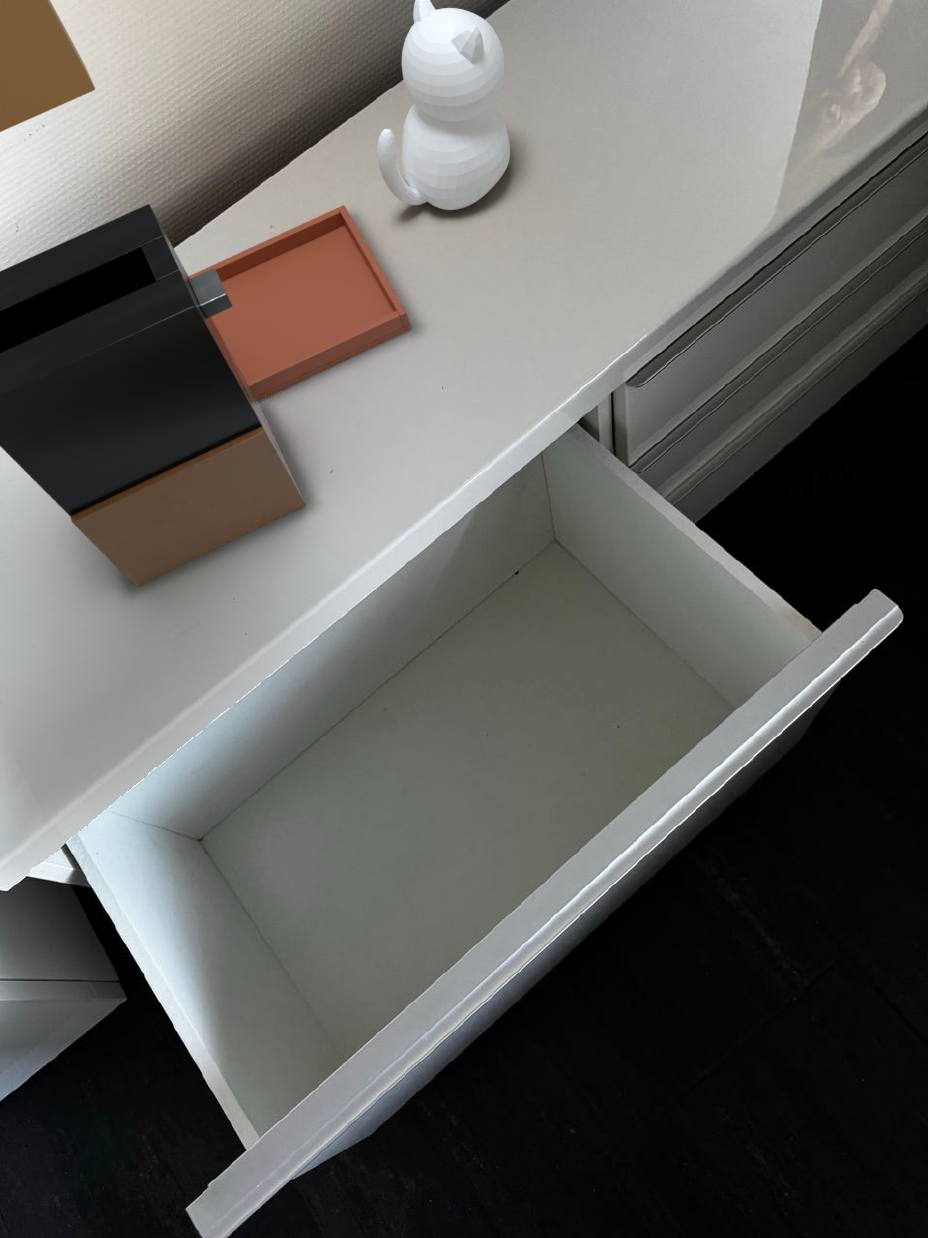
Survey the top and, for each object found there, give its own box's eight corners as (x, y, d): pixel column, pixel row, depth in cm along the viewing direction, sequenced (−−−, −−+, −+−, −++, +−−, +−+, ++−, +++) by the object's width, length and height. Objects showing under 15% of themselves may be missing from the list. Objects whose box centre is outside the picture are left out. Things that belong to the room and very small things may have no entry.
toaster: (136, 587, 77) (-33, 418, 57) (99, 485, 81) (-70, 295, 61) (328, 495, 78) (228, 298, 58) (282, 400, 82) (173, 184, 62)
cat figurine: (542, 168, 88) (528, 3, 74) (433, 255, 86) (398, 102, 72) (472, 119, 91) (447, -47, 78) (366, 201, 89) (320, 45, 75)
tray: (239, 410, 82) (230, 394, 80) (188, 297, 88) (178, 280, 86) (411, 329, 83) (406, 312, 81) (350, 222, 88) (344, 204, 86)
